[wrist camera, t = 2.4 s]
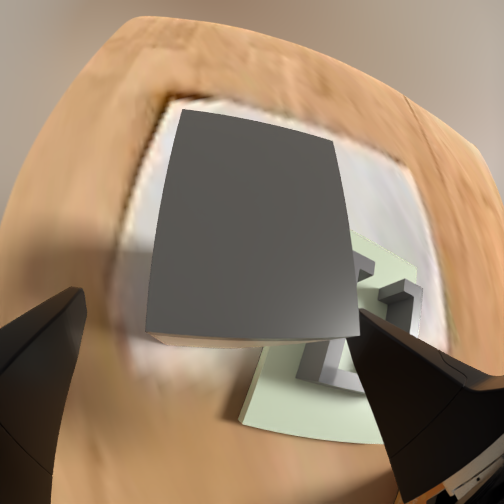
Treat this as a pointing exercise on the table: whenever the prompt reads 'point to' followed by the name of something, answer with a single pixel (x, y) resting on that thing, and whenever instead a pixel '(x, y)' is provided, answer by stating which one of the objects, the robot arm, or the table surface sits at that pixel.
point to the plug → (251, 239)
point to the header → (333, 361)
